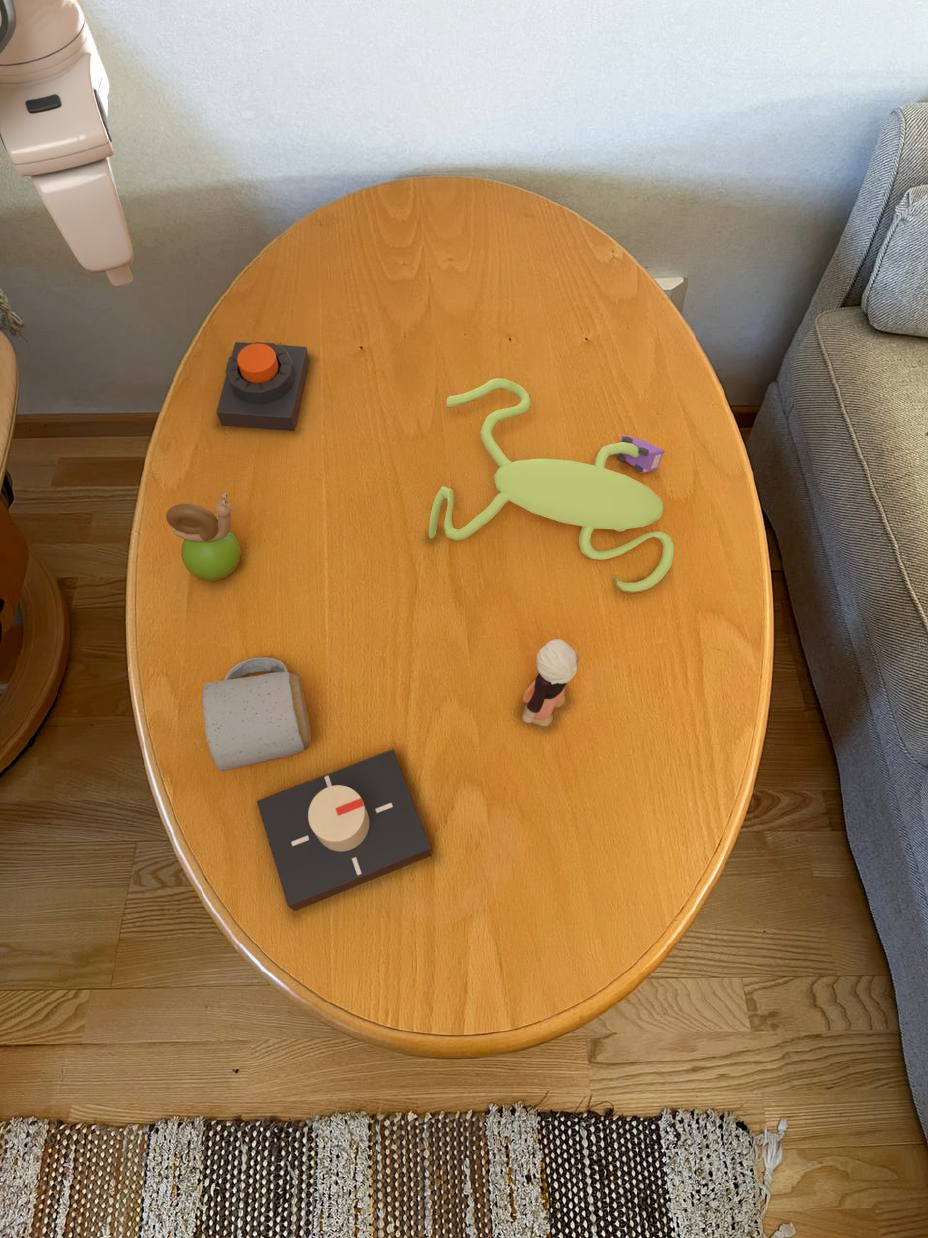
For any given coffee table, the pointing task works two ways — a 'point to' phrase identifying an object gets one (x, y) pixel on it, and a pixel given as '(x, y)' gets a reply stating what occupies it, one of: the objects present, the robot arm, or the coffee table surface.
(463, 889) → the coffee table surface
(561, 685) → the grandmother figurine
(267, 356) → the button
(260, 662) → the ceramic mug
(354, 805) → the dial
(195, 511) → the snail figurine
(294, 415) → the button base
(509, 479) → the figurine
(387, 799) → the dial panel
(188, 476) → the coffee table surface
